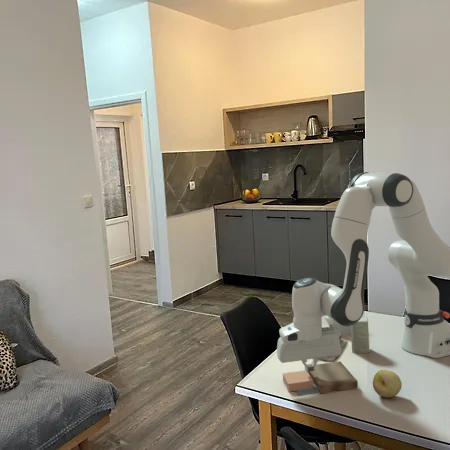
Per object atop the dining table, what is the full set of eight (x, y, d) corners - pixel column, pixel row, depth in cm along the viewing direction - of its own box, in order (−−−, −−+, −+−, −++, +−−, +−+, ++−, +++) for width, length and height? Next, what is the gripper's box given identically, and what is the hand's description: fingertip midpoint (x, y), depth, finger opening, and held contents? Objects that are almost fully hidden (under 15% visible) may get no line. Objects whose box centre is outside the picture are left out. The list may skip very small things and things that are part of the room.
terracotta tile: (306, 377, 149) (306, 370, 149) (313, 387, 142) (313, 380, 142) (283, 380, 148) (282, 373, 148) (288, 391, 141) (288, 383, 141)
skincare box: (369, 348, 168) (368, 316, 166) (369, 353, 163) (368, 321, 161) (351, 347, 169) (350, 316, 167) (351, 352, 165) (350, 320, 163)
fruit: (368, 392, 138) (367, 368, 136) (392, 387, 139) (392, 363, 138) (382, 405, 130) (381, 379, 129) (407, 400, 132) (407, 374, 131)
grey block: (351, 336, 179) (350, 312, 178) (334, 335, 181) (333, 311, 180) (352, 332, 183) (351, 309, 181) (335, 331, 185) (334, 308, 183)
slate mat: (310, 373, 152) (310, 373, 152) (322, 391, 140) (322, 390, 140) (288, 376, 151) (288, 376, 151) (299, 395, 139) (298, 394, 139)
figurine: (327, 319, 198) (325, 286, 196) (348, 322, 194) (347, 288, 192) (322, 325, 192) (320, 291, 190) (344, 328, 188) (343, 293, 185)
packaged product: (321, 328, 179) (346, 331, 174) (321, 339, 179) (346, 343, 174) (305, 345, 163) (332, 350, 158) (306, 358, 164) (333, 363, 159)
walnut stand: (340, 368, 154) (340, 361, 154) (357, 388, 140) (357, 381, 140) (306, 372, 153) (306, 365, 152) (320, 393, 139) (320, 386, 139)
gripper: (335, 322, 147) (337, 361, 149) (274, 330, 145) (277, 370, 147) (343, 329, 141) (344, 370, 143) (279, 337, 139) (282, 379, 141)
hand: (310, 370), depth 145 cm, fingers closed
